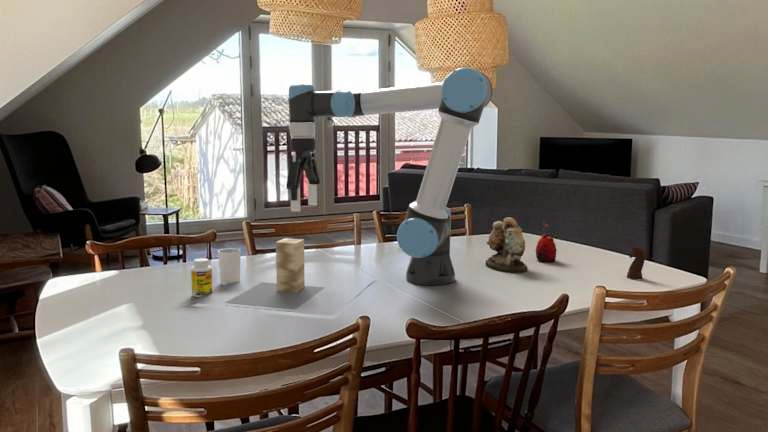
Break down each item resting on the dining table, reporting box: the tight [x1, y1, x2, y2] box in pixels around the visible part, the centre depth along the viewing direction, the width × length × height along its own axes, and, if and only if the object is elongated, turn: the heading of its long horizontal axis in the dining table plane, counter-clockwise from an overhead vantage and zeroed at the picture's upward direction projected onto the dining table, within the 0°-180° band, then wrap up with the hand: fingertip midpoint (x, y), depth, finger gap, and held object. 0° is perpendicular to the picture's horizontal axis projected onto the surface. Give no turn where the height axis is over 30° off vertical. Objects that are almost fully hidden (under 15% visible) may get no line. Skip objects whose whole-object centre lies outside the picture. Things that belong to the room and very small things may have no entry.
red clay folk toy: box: [535, 220, 557, 263], centre depth 223 cm, size 8×7×15 cm
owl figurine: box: [485, 216, 528, 274], centre depth 213 cm, size 18×12×17 cm, turn 28°
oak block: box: [275, 237, 306, 292], centre depth 181 cm, size 6×6×14 cm
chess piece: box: [626, 246, 646, 280], centre depth 200 cm, size 5×5×10 cm
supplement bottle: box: [190, 257, 213, 298], centre depth 177 cm, size 6×6×10 cm
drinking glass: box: [217, 247, 242, 286], centre depth 190 cm, size 7×7×10 cm
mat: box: [224, 281, 326, 313], centre depth 176 cm, size 20×22×1 cm
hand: (304, 208), depth 191 cm, fingers open, 13 cm apart
